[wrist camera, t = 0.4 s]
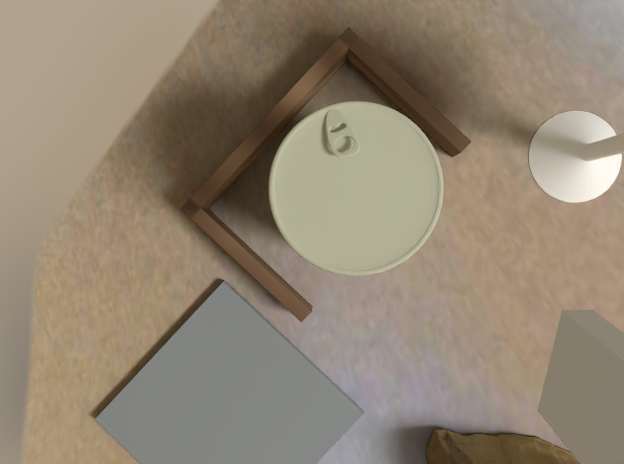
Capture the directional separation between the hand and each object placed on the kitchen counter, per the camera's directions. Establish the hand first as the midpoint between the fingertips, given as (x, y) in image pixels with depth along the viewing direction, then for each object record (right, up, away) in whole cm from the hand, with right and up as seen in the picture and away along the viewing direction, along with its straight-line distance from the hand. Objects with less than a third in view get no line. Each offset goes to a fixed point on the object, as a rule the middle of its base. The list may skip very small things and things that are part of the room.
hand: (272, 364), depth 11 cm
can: (+4, +5, +28) cm, 28 cm away
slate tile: (-5, -11, +28) cm, 30 cm away
